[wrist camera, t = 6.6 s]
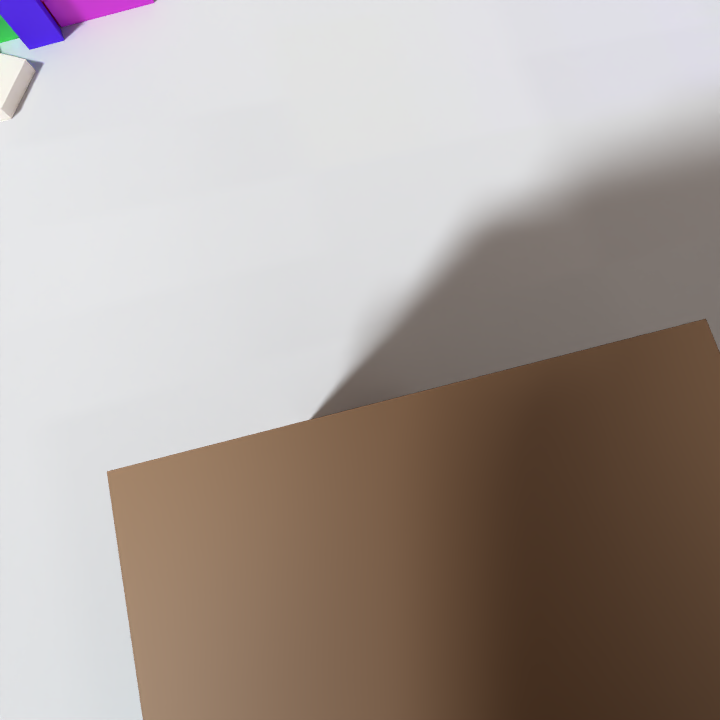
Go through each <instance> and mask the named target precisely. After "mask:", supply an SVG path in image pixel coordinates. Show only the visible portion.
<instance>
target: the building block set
mask: <svg viewBox="0 0 720 720" xmlns="http://www.w3.org/2000/svg"><path fill="white" fill-rule="evenodd" d="M152 3H154V1H153V0H0V43H2V42H6V41H9V40H13V39H17V38H20V39H21V40H22V41H23V42H24V44H25V45H26V46H27V47H28V48H29V50H30V49H34V48H38V47H41V46H45V45H49V44H53V43H56V42H60V41H64V38H63V35H62V32H61V29H60V27H59V24H60V26H61V27H65V26H68V25H72V24H76V23H80V22H83V21H87V20H91V19H95V18H99V17H102V16H106V15H110V14H114V13H118V12H121V11H125V10H129V9H133V8H136V7H140V6H144V5H148V4H152ZM58 23H59V24H58ZM34 73H35V69H34V68H33V67H32V66H31V65H30V64H29V63H28V61H27V60H26V59H22V58H18V57H14V56H10V55H6V54H2V53H0V122H3V121H6V120H10V119H12V117H13V115H14V113H15V111H16V109H17V107H18V105H19V103H20V101H21V99H22V97H23V95H24V93H25V91H26V89H27V87H28V85H29V83H30V81H31V79H32V77H33V75H34Z"/></svg>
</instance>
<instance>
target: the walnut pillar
mask: <svg viewBox="0 0 720 720" xmlns="http://www.w3.org/2000/svg"><path fill="white" fill-rule="evenodd" d="M107 476H108V483H109V489H110V496H111V503H112V510H113V517H114V524H115V531H116V538H117V544H118V551H119V558H120V565H121V572H122V579H123V586H124V592H125V599H126V606H127V613H128V620H129V627H130V634H131V641H132V647H133V654H134V661H135V668H136V675H137V682H138V689H139V696H140V702H141V709H142V716H143V720H720V352H719V350H718V347H717V345H716V342H715V340H714V338H713V335H712V333H711V330H710V328H709V325H708V323H707V320H706V319H703V320H699V321H695V322H691V323H687V324H683V325H679V326H676V327H672V328H668V329H664V330H660V331H656V332H652V333H648V334H644V335H640V336H636V337H632V338H629V339H625V340H621V341H617V342H613V343H609V344H605V345H601V346H597V347H593V348H589V349H585V350H581V351H578V352H574V353H570V354H566V355H562V356H558V357H554V358H550V359H546V360H542V361H538V362H534V363H531V364H527V365H523V366H519V367H515V368H511V369H507V370H503V371H499V372H495V373H491V374H487V375H483V376H480V377H476V378H472V379H468V380H464V381H460V382H456V383H452V384H448V385H444V386H440V387H436V388H433V389H429V390H425V391H421V392H417V393H413V394H409V395H405V396H401V397H397V398H393V399H389V400H385V401H382V402H378V403H374V404H370V405H366V406H362V407H358V408H354V409H350V410H346V411H342V412H338V413H335V414H331V415H327V416H323V417H319V418H315V419H311V420H307V421H303V422H299V423H295V424H291V425H287V426H284V427H280V428H276V429H272V430H268V431H264V432H260V433H256V434H252V435H248V436H244V437H240V438H237V439H233V440H229V441H225V442H221V443H217V444H213V445H209V446H205V447H201V448H197V449H193V450H189V451H186V452H182V453H178V454H174V455H170V456H166V457H162V458H158V459H154V460H150V461H146V462H142V463H139V464H135V465H131V466H127V467H123V468H119V469H115V470H111V471H107Z"/></svg>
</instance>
